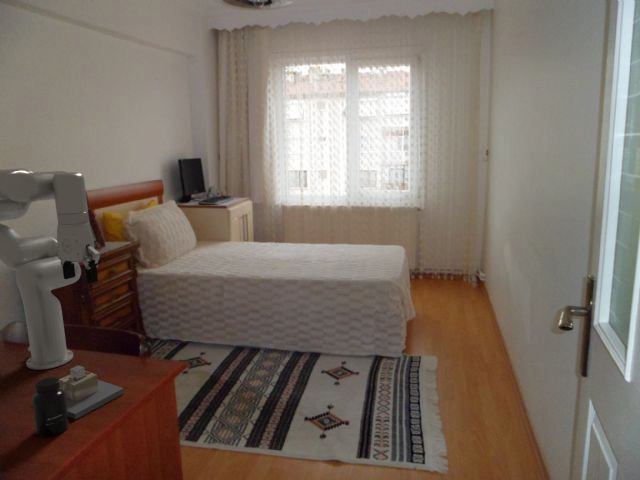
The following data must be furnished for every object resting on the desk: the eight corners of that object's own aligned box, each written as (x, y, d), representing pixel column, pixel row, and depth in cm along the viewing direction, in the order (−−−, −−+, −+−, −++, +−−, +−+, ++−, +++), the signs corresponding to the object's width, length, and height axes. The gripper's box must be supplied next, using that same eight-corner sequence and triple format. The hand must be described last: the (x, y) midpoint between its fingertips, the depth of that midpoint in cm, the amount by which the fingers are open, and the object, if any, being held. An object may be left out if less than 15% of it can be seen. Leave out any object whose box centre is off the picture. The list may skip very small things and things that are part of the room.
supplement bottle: (55, 439, 110) (48, 390, 108) (29, 436, 111) (21, 388, 109) (76, 422, 117) (70, 376, 114) (51, 419, 118) (44, 373, 116)
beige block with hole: (60, 395, 126) (58, 378, 125) (83, 384, 132) (81, 368, 131) (76, 401, 123) (74, 384, 122) (98, 390, 129) (96, 373, 128)
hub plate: (36, 403, 125) (35, 398, 125) (85, 380, 137) (84, 375, 137) (75, 419, 118) (74, 414, 117) (123, 393, 130) (123, 388, 129)
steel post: (73, 394, 127) (69, 369, 125) (81, 390, 129) (78, 365, 127) (79, 396, 126) (75, 371, 124) (87, 392, 128) (84, 367, 126)
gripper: (40, 219, 132) (48, 279, 136) (81, 223, 124) (88, 287, 127) (66, 215, 139) (73, 273, 142) (106, 218, 130) (113, 280, 134)
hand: (80, 280), depth 135 cm, fingers open, 9 cm apart
